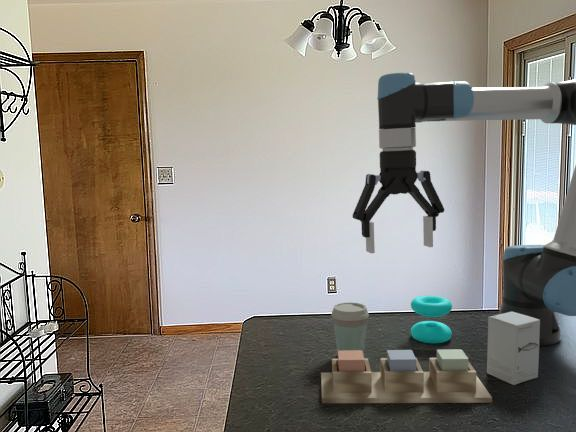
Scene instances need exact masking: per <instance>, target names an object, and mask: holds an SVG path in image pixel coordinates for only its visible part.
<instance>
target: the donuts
mask: <svg viewBox="0 0 576 432" xmlns="http://www.w3.org/2000/svg"><path fill="white" fill-rule="evenodd" d="M410 307H411V310H412V311H413V312H414V313H416V314H418V315H420V316H423V317H428V318H439V317H443V316H446V315H448V314H449V313H450V312H451V311H452V308H453V305H452V302H451V301H450V300H449V299H447V298H446V297H443V296H438V295H420V296H417V297H414V298H413V299H412V300H411V302H410ZM452 334H453V333H452V330H451V328H450V327H449V326H448V325H446V324H445V323H443V322H440V321H435V320H423V321H419V322H416V323H415V324H413V325H412V327H411V329H410V335H411V337H412V338H413V339H414V340H416V341H419V342H422V343H425V344H443V343H445V342H446V343H447V342H448V341H449V340H450V339H452Z"/></svg>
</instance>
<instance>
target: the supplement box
mask: <svg viewBox="0 0 576 432" xmlns="http://www.w3.org/2000/svg"><path fill="white" fill-rule="evenodd" d="M498 314H499V313H498ZM498 314H496V315H491V316H488V317H487V319H488V321H487V356H486V357H487V358H486V359H487V362H486V374H488V375H491V376H493V377H495V378H497V379H499V380H501V381H504V382H505V383H508V384H510V385H512V386H516V385H518V384H521V383H523V382H526V381H531V380H533V379H537V378H538V377H539V359H540V358H539V357H540V346H539V336H540V320H539V319H536V318H533V317H530V316H526V315H523V314H519V313H516V312H507V313H503V314H499V315H498Z"/></svg>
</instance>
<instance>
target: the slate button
mask: <svg viewBox="0 0 576 432" xmlns="http://www.w3.org/2000/svg"><path fill="white" fill-rule="evenodd" d="M386 358H387V368H388V371H416V358H417V357H416V356H415V354H414V351H413V350H412V349H386Z"/></svg>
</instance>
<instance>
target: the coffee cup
mask: <svg viewBox="0 0 576 432" xmlns="http://www.w3.org/2000/svg"><path fill="white" fill-rule="evenodd" d="M369 316H370V315H369V311H368V308H367V306H366V305H365V304H363V303H359V302H352V301H351V302H350V301H349V302H339V303H337V304H335V305H334V306H333V308H332V311H331V317H332V321H333V328H334V334H335V335H334V336H335V342H336V352H337V353H338V351H343V350H362V351H363V355H365V354H364V352H365V346H366V345H365V344H366V334H367V324H368V318H369Z"/></svg>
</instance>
